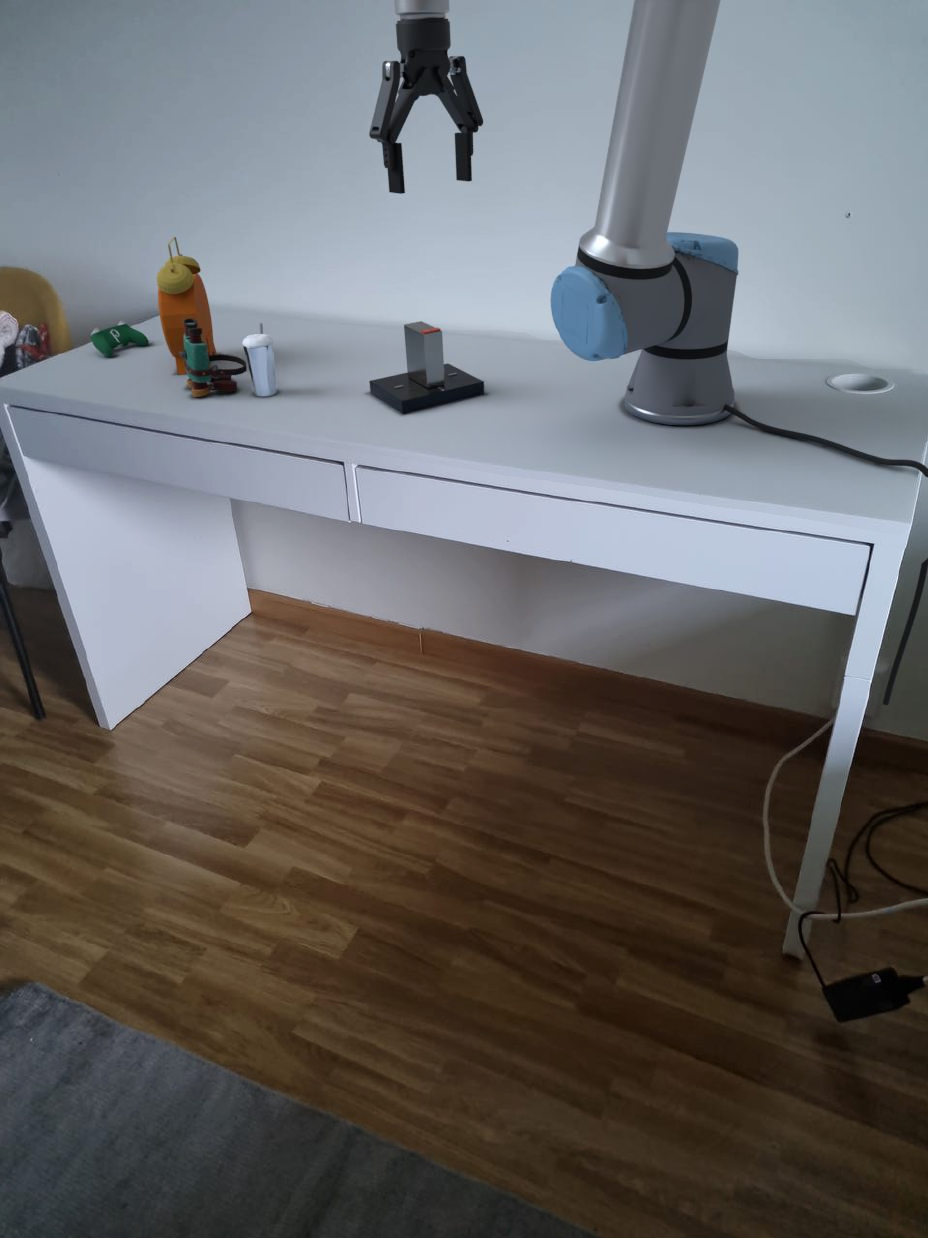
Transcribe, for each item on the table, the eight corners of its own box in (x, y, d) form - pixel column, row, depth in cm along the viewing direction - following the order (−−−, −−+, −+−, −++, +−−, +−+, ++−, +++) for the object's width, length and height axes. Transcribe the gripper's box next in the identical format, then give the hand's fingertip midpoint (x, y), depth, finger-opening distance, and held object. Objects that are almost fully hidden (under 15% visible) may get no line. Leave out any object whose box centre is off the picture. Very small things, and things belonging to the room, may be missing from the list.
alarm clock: (184, 353, 159) (158, 233, 148) (219, 350, 159) (196, 231, 148) (172, 377, 148) (143, 250, 137) (209, 374, 148) (184, 247, 137)
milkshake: (285, 386, 142) (275, 322, 137) (276, 398, 138) (265, 332, 132) (257, 386, 143) (246, 322, 137) (247, 398, 138) (236, 333, 133)
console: (448, 375, 144) (448, 361, 142) (484, 394, 135) (484, 380, 134) (370, 393, 138) (369, 379, 137) (402, 414, 130) (401, 399, 129)
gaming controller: (145, 352, 166) (125, 327, 166) (151, 340, 164) (131, 313, 163) (103, 366, 160) (83, 340, 160) (108, 353, 157) (87, 326, 157)
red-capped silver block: (407, 376, 137) (403, 322, 133) (424, 373, 139) (421, 319, 134) (427, 388, 133) (423, 332, 128) (445, 384, 134) (442, 329, 129)
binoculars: (247, 327, 136) (180, 330, 132) (252, 396, 141) (187, 400, 138) (236, 314, 143) (171, 316, 139) (241, 379, 148) (179, 383, 144)
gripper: (468, 15, 132) (473, 173, 144) (333, 20, 118) (350, 195, 130) (505, 13, 128) (506, 177, 139) (368, 18, 114) (383, 200, 125)
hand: (431, 186), depth 135 cm, fingers open, 13 cm apart
